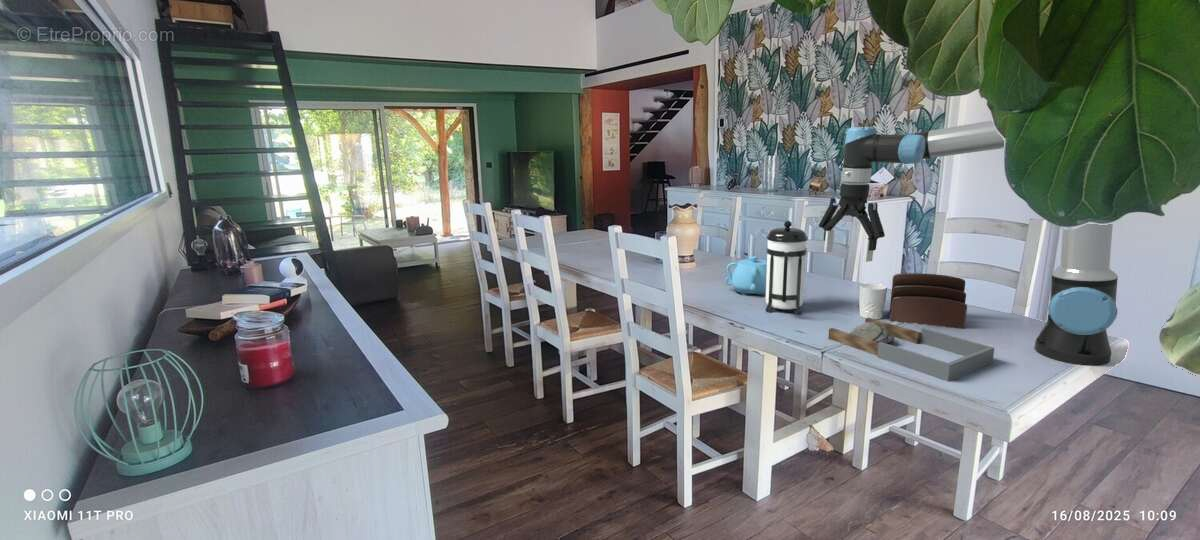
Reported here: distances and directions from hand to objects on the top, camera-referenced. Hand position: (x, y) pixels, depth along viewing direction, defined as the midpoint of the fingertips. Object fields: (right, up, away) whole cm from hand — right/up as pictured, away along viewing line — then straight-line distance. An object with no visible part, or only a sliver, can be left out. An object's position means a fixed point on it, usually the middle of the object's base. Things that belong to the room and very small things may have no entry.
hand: (847, 256), depth 164 cm
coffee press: (-10, -18, +25) cm, 32 cm away
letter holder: (+29, -20, +11) cm, 37 cm away
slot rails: (+5, -24, -5) cm, 25 cm away
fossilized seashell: (+5, -24, -5) cm, 25 cm away
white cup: (+15, -19, +16) cm, 29 cm away
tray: (+14, -27, -19) cm, 36 cm away
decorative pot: (-15, -12, +48) cm, 52 cm away
